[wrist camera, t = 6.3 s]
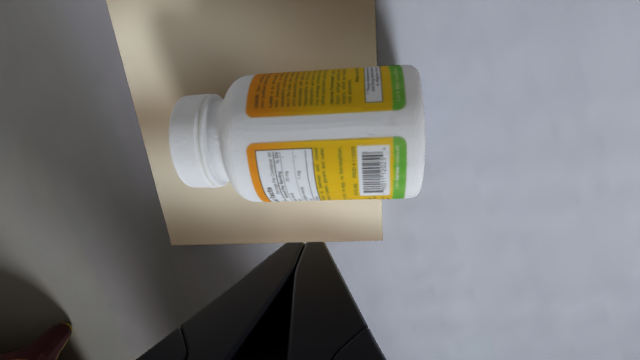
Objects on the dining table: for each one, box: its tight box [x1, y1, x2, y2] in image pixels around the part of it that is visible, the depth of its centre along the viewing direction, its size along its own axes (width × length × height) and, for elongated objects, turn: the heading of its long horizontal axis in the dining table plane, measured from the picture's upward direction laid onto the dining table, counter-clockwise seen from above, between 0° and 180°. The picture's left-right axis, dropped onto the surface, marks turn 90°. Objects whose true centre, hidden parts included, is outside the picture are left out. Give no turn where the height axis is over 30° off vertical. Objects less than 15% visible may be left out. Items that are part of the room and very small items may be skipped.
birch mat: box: [106, 0, 383, 245], centre depth 20 cm, size 13×12×1 cm
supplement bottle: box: [169, 65, 426, 202], centre depth 17 cm, size 5×5×10 cm
